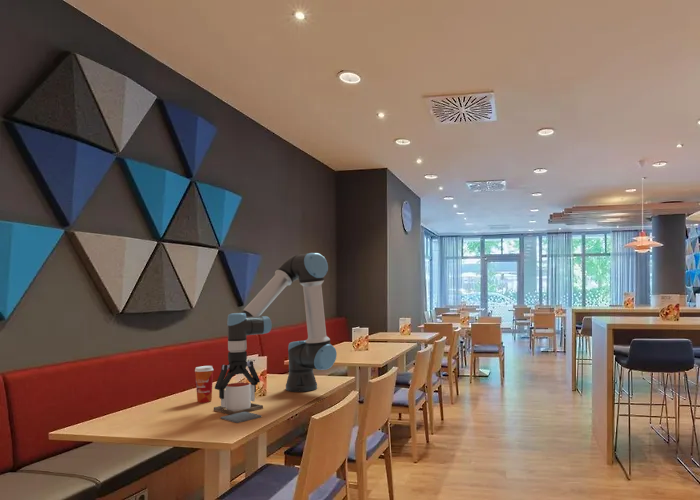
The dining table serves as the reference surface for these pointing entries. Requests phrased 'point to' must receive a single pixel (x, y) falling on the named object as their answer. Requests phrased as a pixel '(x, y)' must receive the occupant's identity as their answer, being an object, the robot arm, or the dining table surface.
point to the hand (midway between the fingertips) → (238, 403)
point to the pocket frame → (223, 410)
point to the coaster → (241, 417)
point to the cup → (238, 396)
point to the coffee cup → (204, 383)
